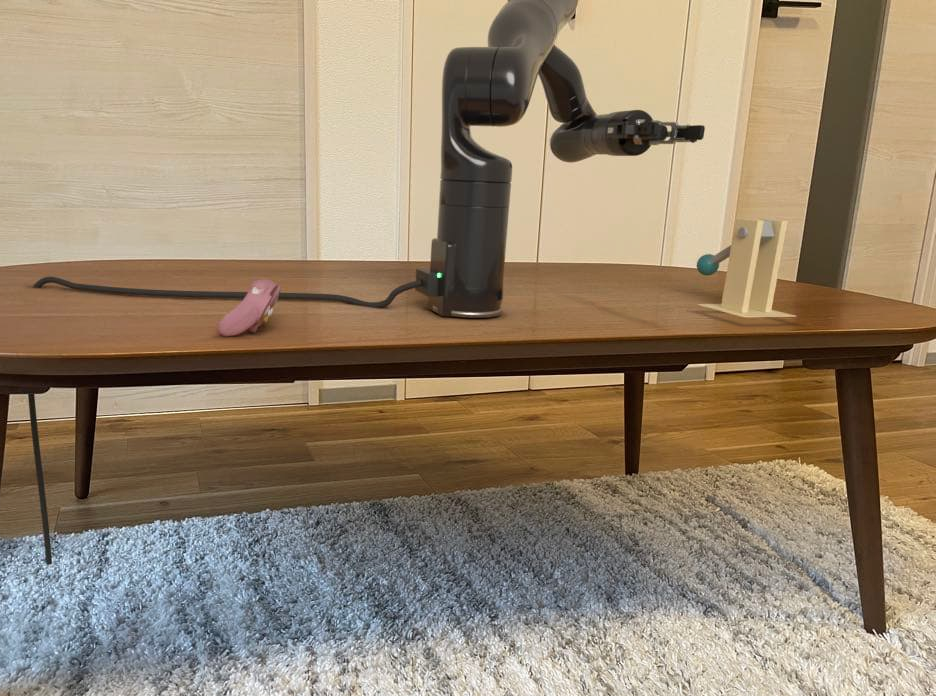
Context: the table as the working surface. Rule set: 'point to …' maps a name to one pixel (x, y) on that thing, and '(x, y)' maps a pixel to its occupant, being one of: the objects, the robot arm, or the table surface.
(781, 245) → the bracket
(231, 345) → the table surface
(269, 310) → the pink rounded piece
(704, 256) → the lever
